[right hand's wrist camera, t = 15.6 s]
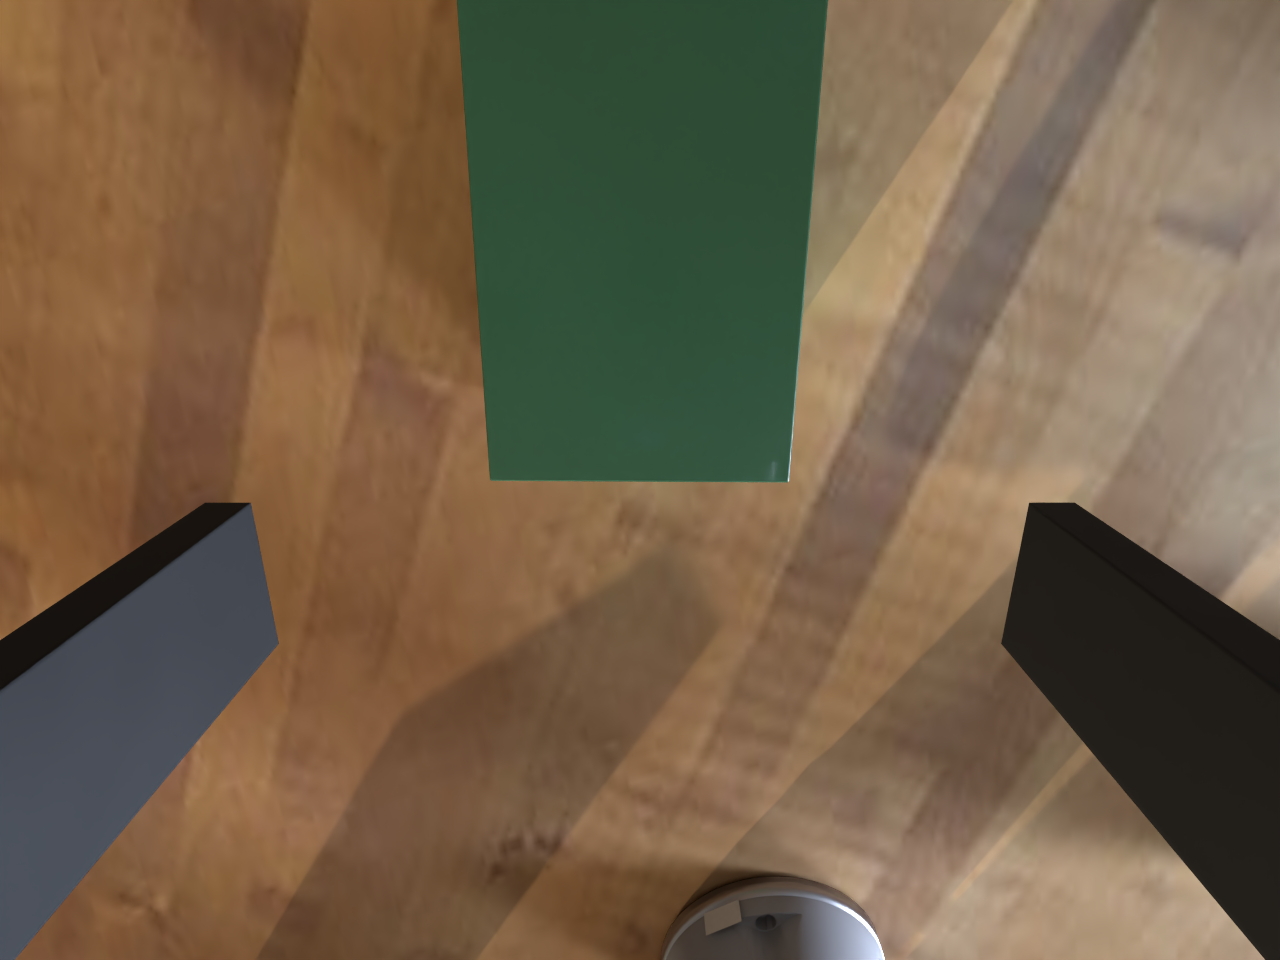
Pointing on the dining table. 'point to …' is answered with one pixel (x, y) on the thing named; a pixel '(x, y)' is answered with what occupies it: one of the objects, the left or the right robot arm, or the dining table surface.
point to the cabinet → (641, 232)
